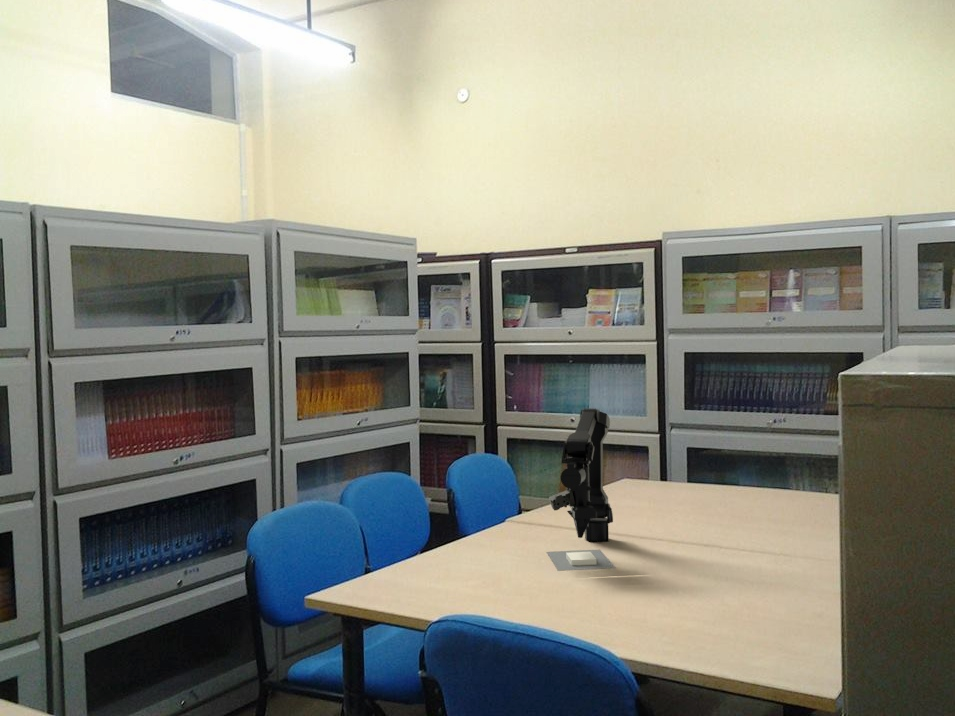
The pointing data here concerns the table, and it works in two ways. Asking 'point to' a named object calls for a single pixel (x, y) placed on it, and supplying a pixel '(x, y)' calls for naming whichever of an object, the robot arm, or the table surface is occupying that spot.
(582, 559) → the tile
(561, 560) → the mat
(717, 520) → the table surface
